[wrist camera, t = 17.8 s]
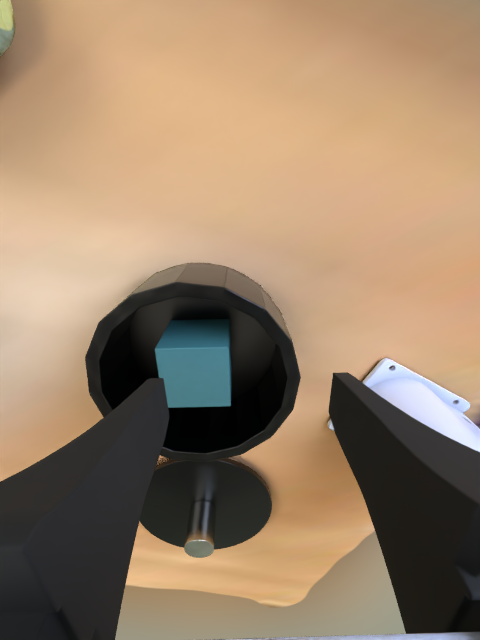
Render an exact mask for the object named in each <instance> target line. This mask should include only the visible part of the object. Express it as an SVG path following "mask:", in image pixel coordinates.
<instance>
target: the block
mask: <svg viewBox="0 0 480 640" xmlns="http://www.w3.org/2000/svg"><path fill="white" fill-rule="evenodd" d="M155 355H156V362H157V368H158V375H159V378H163V379H164V385H165V391H166V397H167V404H168V408H177V407H222V406H231V381H232V360H231V330H230V319H208V320H171V321H170V322H169V324H168V326H167V328H166V329H165V331H164V333H163V335H162V337H161V338H160V340H159V342H158V344H157V346H156V347H155Z"/></svg>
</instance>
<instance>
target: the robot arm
mask: <svg viewBox="0 0 480 640" xmlns="http://www.w3.org/2000/svg"><path fill="white" fill-rule="evenodd" d="M390 366H393V367H392V368H389V367H390ZM469 407H470V403H469V402H468V401H466V400H465V399H463V398H461V397H459V396H458V395H456V394H454V393H452V392H450V391H448V390H446V389H445V388H443V387H441V386H439V385H437V384H435V383H434V382H432V381H430V380H428V379H426V378H424V377H422V376H421V375H419V374H417V373H415V372H413V371H411V370H410V369H408V368H406V367H404V366H402V365H400V364H398V363H397V362H395V361H393V360H391V359H389V358H384V359H382V360H381V361H380V362H379V363H378V364H377V366H376V367H375V368H374V369H373V370H372V371H371V372H370V374H369V375H368V376H367V377H366V378H365V379H364V381H363V382H361V381H359V380H358V379H356V378H355V377H354V376H352V375H351V374H349V373H333V379H332V388H331V396H330V404H329V414H330V418H331V419H330V420H329V421H328V427H329V429H331V430H333V431H335V434H336V436H337V438H338V441H339V443H340V445H341V447H342V450H343V452H344V454H345V456H346V458H347V461H348V463H349V465H350V467H351V469H352V471H353V474H354V476H355V478H356V480H357V482H358V485H359V487H360V489H361V492H362V494H363V497H364V499H365V502H366V505H367V508H368V511H369V514H370V517H371V520H372V522H373V525H374V528H375V531H376V534H377V538H378V541H379V544H380V547H381V549H382V553H383V556H384V559H385V563H386V566H387V569H388V572H389V576H390V579H391V582H392V585H393V589H394V592H395V595H396V599H397V603H398V606H399V609H400V613H401V617H402V620H403V624H404V628H405V631H406V634H385V635H351V636H318V637H282V638H250V639H249V638H247V639H214V640H480V429H479V428H478V427H477V426H476V425H475V424H474V423H473V422H472V421H471V420H470V419H469V418H468V417H466V416H465V415H464V414H463V413H464V412H465V411H466V410H468V408H469ZM168 421H169V410H168V404H167V397H166V391H165V385H164V379H163V378H149V379H148V380H147V381H145V382H144V383H143V384H142V385H141V386H140V387H139V388H138V389H137V390H136V391H134V392H133V393H132V394H131V395H130V396H129V397H128V398H127V399H125V400H124V401H123V402H122V403H121V404H120V405H119V406H118V407H116V408H115V409H114V410H113V411H112V412H110V413H109V414H108V415H107V416H105V417H104V418H103V419H102V420H100V421H99V422H98V423H97V424H95V425H94V426H93V427H91V428H90V429H89V430H87V431H86V432H85V433H83V434H82V435H80V436H79V437H77V438H76V439H74V440H73V441H71V442H70V443H68V444H67V445H65V446H64V447H62V448H60V449H59V450H57V451H55V452H54V453H52V454H50V455H49V456H47V457H45V458H44V459H42V460H40V461H39V462H37V463H35V464H33V465H32V466H30V467H28V468H26V469H24V470H22V471H21V472H19V473H17V474H15V475H13V476H11V477H9V478H7V479H5V480H3V481H1V482H0V640H115V636H116V630H117V624H118V619H119V614H120V609H121V603H122V598H123V593H124V588H125V583H126V578H127V574H128V569H129V564H130V559H131V555H132V550H133V546H134V541H135V537H136V532H137V528H138V524H139V520H140V516H141V511H142V507H143V503H144V500H145V497H146V493H147V490H148V487H149V484H150V481H151V478H152V475H153V473H154V470H155V467H156V464H157V461H158V458H159V455H160V452H161V449H162V446H163V443H164V440H165V436H166V431H167V427H168ZM212 640H213V639H212Z"/></svg>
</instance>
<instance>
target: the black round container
mask: <svg viewBox="0 0 480 640" xmlns="http://www.w3.org/2000/svg"><path fill="white" fill-rule="evenodd" d="M208 319H230V330H231V360H232V381H231V406H222V407H177V408H168V410H169V421H168V427H167V431H166V436H165V440H164V443H163V446H162V449H161V452H160V455H161V456H164V457H166V458H169V459H172V460H186V461H200V462H207V461H208V462H209V461H214V460H218V459H223V458H228V457H232V456H237V455H241V454H244V453H245V452H247V451H249V450H250V449H252V448H254V447H255V446H257V445H259V444H260V443H262V442H264V441H266V440H267V439H269V438H271V436H273V435H274V433H275V432H276V431H277V430H278V428H279V427H280V426H281V424H282V423H283V422H284V421H285V419H286V418H287V417H288V415H289V414H290V413H291V412H292V410H293V408H294V404H295V399H296V395H297V391H298V387H299V382H300V378H301V377H300V372H299V368H298V364H297V359H296V355H295V351H294V347H293V343H292V340H291V337H290V335H289V332H288V330H287V327H286V325H285V322H284V320H283V317H282V315H281V312H280V310H279V309H278V307H277V306H276V305H275V304H274V302H273V301H272V299H271V298H270V296H269V295H268V294H267V293H266V292H265V291H264V290H263V288H262V287H261V286H260V285H259V284H258V283H256V282H254V281H253V280H252V279H250V278H249V277H247V276H245V275H244V274H242V273H240V272H238V271H236V270H233V269H231V268H228V267H225V266H221V265H215V264H210V263H187V264H183V265H178V266H174V267H171V268H169V269H166V270H163V271H160V272H157V273H155V274H154V275H152V276H151V277H150V278H149V279H148V280H147V281H146V282H144V283H143V284H142V285H141V286H140V287H139V288H137V289H136V290H135V291H134V292H133V293H132V294H131V295H129V296H128V297H127V298H126V299H125V300H124V301H123V302H121V303H120V304H119V305H118V306H117V307H116V308H115V309H113V310H112V311H111V312H110V313H109V314H108V315H107V316H105V317H104V318H103V319H102V320H101V321H100V322H99V323H98V326H97V328H96V331H95V333H94V336H93V338H92V341H91V344H90V346H89V349H88V351H87V354H86V356H85V361H86V369H87V378H88V387H89V393H90V396H91V397H92V399H93V401H94V402H95V404H96V405H97V407H98V409H99V410H100V412H101V414H102V415H103V417H105V416H107V415H108V414H109V413H110V412H112V411H113V410H114V409H115V408H116V407H118V406H119V405H120V404H121V403H122V402H123V401H124V400H125V399H127V398H128V397H129V396H130V395H131V394H132V393H133V392H134V391H136V390H137V389H138V388H139V387H140V386H141V385H142V384H143V383H144V382H145V381H147V380H148V379H149V378H159V375H158V368H157V362H156V355H155V347H156V346H157V344H158V342H159V340H160V338H161V337H162V335H163V333H164V331H165V329H166V328H167V326H168V324H169V322H170V321H171V320H208Z"/></svg>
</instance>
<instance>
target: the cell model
mask: <svg viewBox="0 0 480 640" xmlns="http://www.w3.org/2000/svg"><path fill="white" fill-rule="evenodd" d="M14 33H15V23H14V13H13V8H12V4H11V0H0V57H1V56H2V54H3V53H4V52H5V51H6V50H7V49H8V48H9V46H10V45H11V42H12V39H13V36H14Z"/></svg>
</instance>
